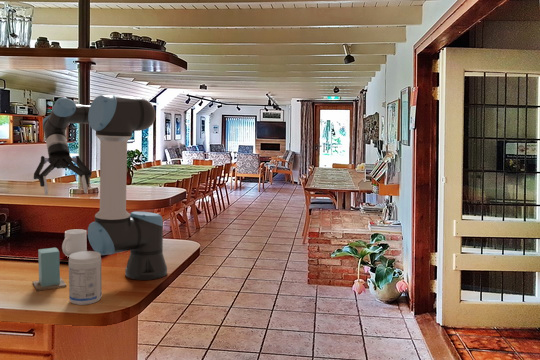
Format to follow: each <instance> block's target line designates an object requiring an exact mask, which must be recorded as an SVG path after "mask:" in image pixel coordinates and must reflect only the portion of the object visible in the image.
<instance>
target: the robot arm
mask: <svg viewBox="0 0 540 360" xmlns="http://www.w3.org/2000/svg"><path fill="white" fill-rule="evenodd" d="M51 109H52V110H51V111H50V114H49V115H47V116H46V117H44V118H43V119H42V129H43V133H44V134H43V135H44V138H45V143H46V148H47V155H48V157H45V156H43V155H41V157H40V162H39V163H38V164H37V165H38V166H37V167H36V169H35V171H34V173H33V178H32V179H33V180H38V182H39V185H40V187H43V190H44V195H45V196H48V195H49V194H48V193H49V187H48V182H47V176H48V175H49V174H50V173H51V172H53V170H55V169H68V170H70V171H71V172H73V173H75V174H77V176H79V177H80V178H81V184H82V189H83V193H85V194H87V191H88V185H89V182H90V181H89V178H92V173H93V172H92V171H91V169H89V167H87V165H86V164H85V163H84V162H83V161H82V160H81V158H80V156H78V155H75V157H71V155H70V150H69V146H68V139H67V136H66V130H67V128H68V127H69V125H70V124H80V125H81V124H85V125H89V126H90V129H91V130H94V131H95V136H96V137H97V139H99V141H100V144H99V145H100V147H99V151H100V153H99V155H100V156H99V160H100V161H99V211H97V212H96V213H95V214H94V221H92V222H91V223H89V224H88V227H87V239H88V241H89V244H90V246H91V248H92V251H95V252H99V253H100V254H101V256H105V255H113V254H119V253H124V252H128V251H129V253H130V254H129V258H128V260H127V264H126V267H125V277H126V278H127V279H131V280H137V281H151V280H156V279H161V278H163V277H165V276H167V275H168V266H167V263H166V259H165V256H164V254H163V250H164V249H163V248H164V245H163V244H164V242H163V241H164V237H163V236H164V231H163V230H164V221H163V220H164V219H163V217H162V215H161V214H159V213H154V212H150V211H149V212H148V211H132V212H130V213H129V212H128V210H127V175H128V174H127V171H128V165H127V164H128V142H129V140H130V139H131V138H132V137H133V132H139V131H146V130H147V129H149V128H151V127H152V126H153V124H154V123H155V121H156V116H157V115H156V114H157V113H156V109H155V106H154V105H153V104H152V103H151V102H150V101H148V100H147V99H145V98H142V97H136V96H123V95H115V94H103V95H101V94H100V95H98V96H96V97H95V98H94V99H93V100H92V102H91V103H90V105H89V104H87V105H86V104H76V102H75V101H74V100H72V99H71V98H68V97H59V98H58V99H57V100H56V101H55V102H54V104H53V106H52V108H51ZM47 163H48V164H49V165H48V166H47V167H46V168H45V169H44V170H43V168H44V165H46V164H47Z"/></svg>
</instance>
